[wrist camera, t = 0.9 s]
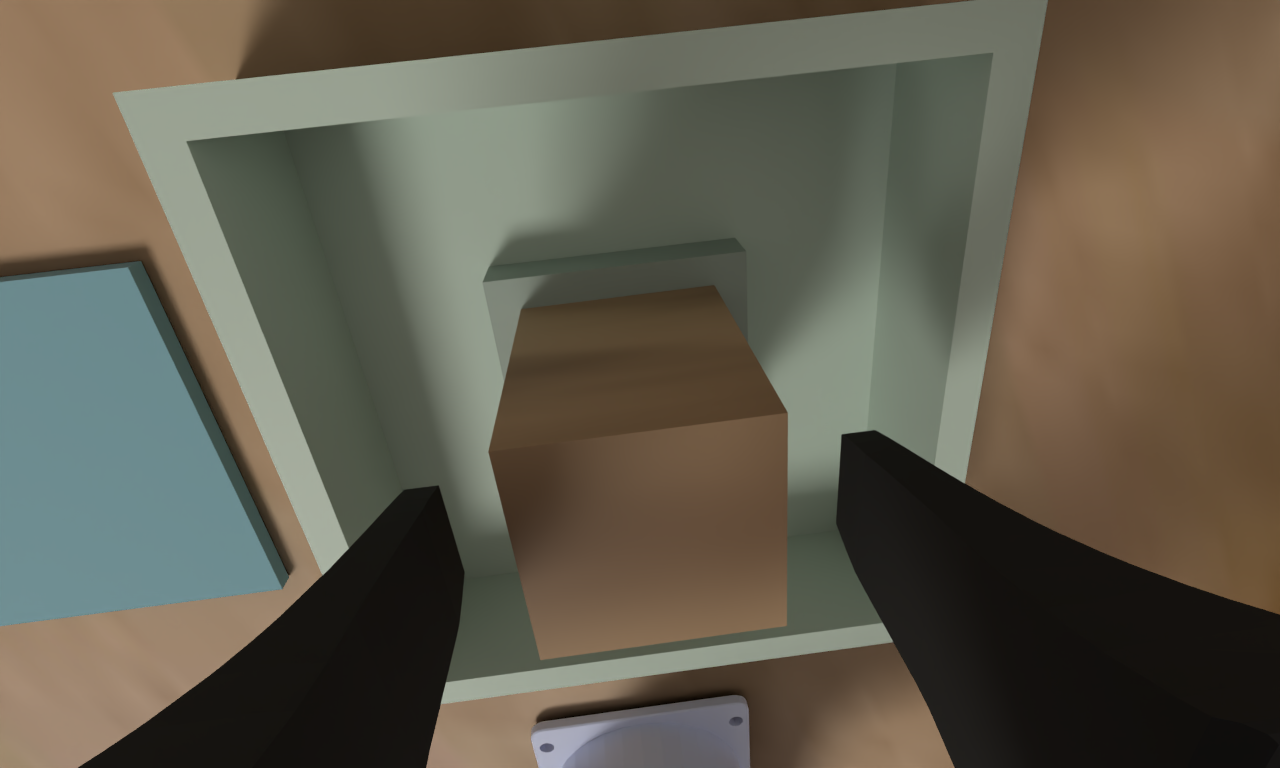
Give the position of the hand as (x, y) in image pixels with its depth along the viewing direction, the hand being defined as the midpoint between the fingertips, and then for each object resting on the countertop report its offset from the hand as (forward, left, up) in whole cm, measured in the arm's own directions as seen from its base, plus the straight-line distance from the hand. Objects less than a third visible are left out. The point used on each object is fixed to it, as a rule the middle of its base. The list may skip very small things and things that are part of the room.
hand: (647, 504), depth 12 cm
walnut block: (0, 0, -5) cm, 5 cm away
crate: (0, 0, -7) cm, 7 cm away
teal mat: (-1, +16, -6) cm, 17 cm away
